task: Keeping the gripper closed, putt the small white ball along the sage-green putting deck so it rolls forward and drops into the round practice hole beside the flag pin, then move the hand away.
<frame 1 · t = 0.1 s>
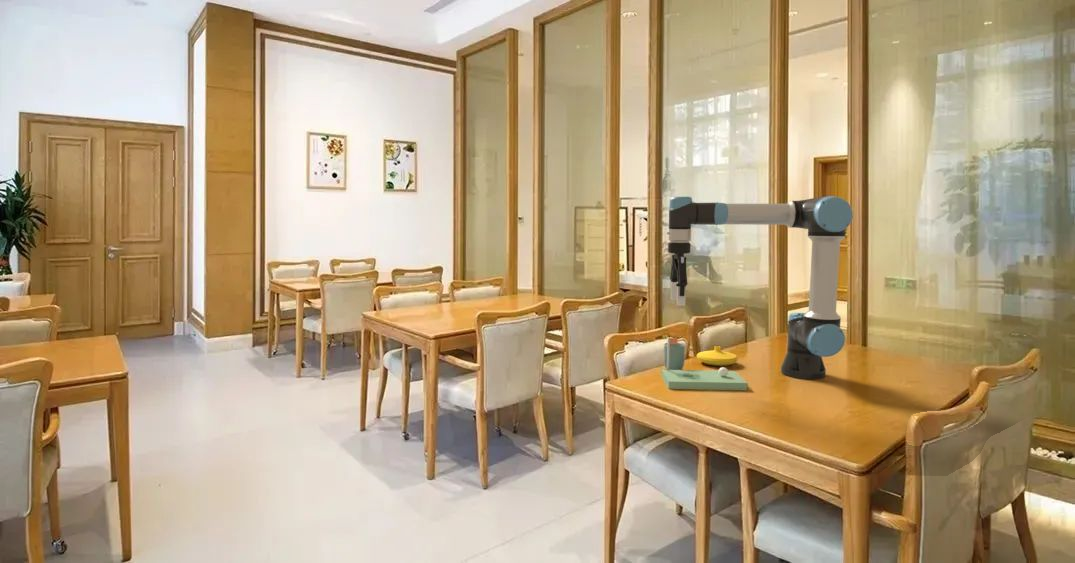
hand: (677, 302, 209), 28 cm above the table, fingers open, 13 cm apart
deck: (702, 383, 210), on the table
cup: (673, 371, 227), on the table
ball: (723, 371, 209), point 4 cm above the table, touching deck
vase: (716, 364, 238), on the table
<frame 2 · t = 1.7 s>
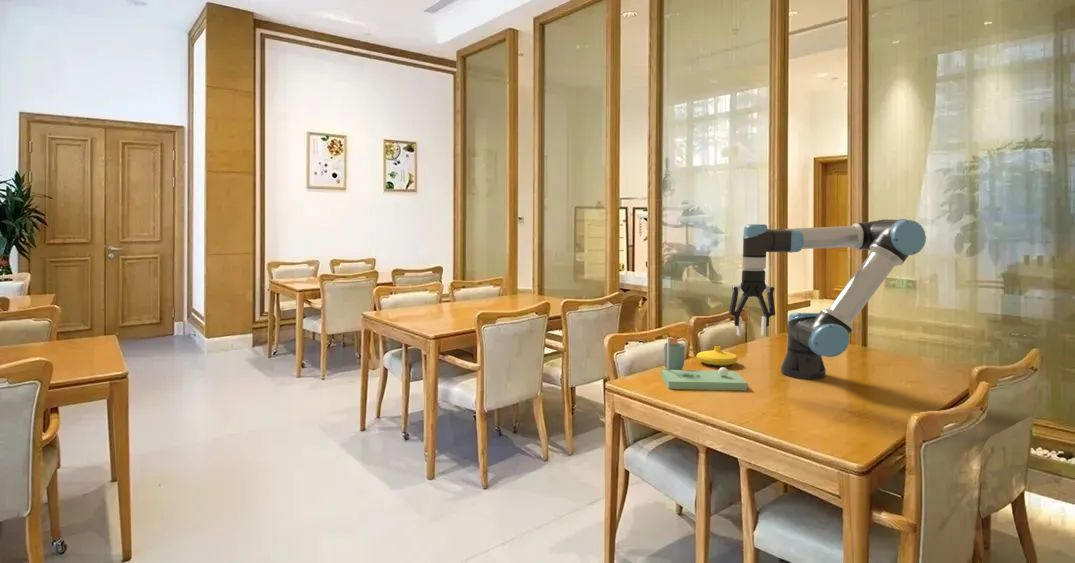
hand: (751, 335, 207), 17 cm above the table, fingers open, 8 cm apart
nothing on the table moved.
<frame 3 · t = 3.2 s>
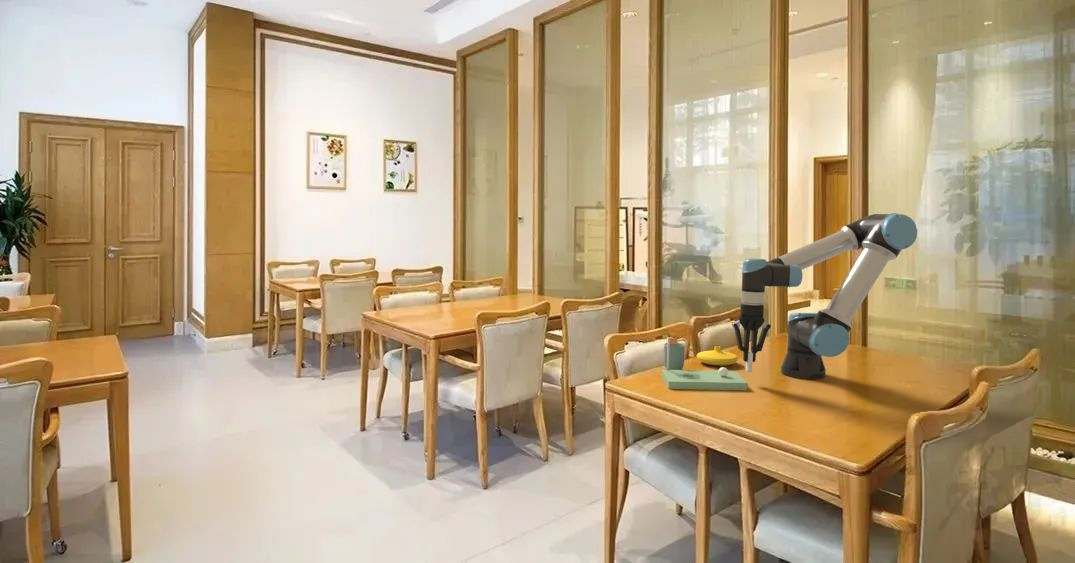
hand: (748, 370, 208), 5 cm above the table, fingers closed
nothing on the table moved.
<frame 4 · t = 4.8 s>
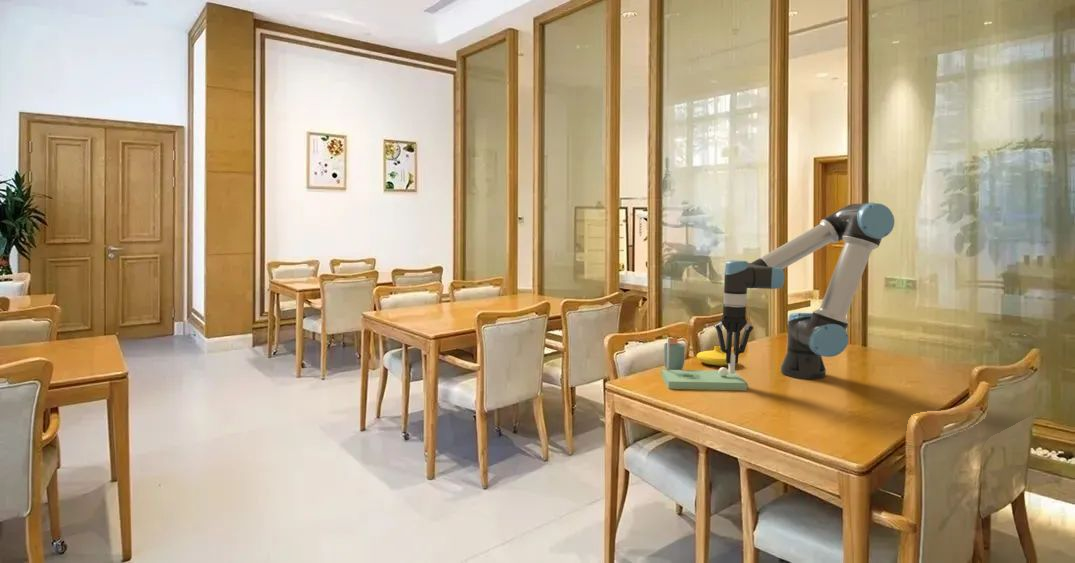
hand: (731, 372, 209), 4 cm above the table, fingers closed
nothing on the table moved.
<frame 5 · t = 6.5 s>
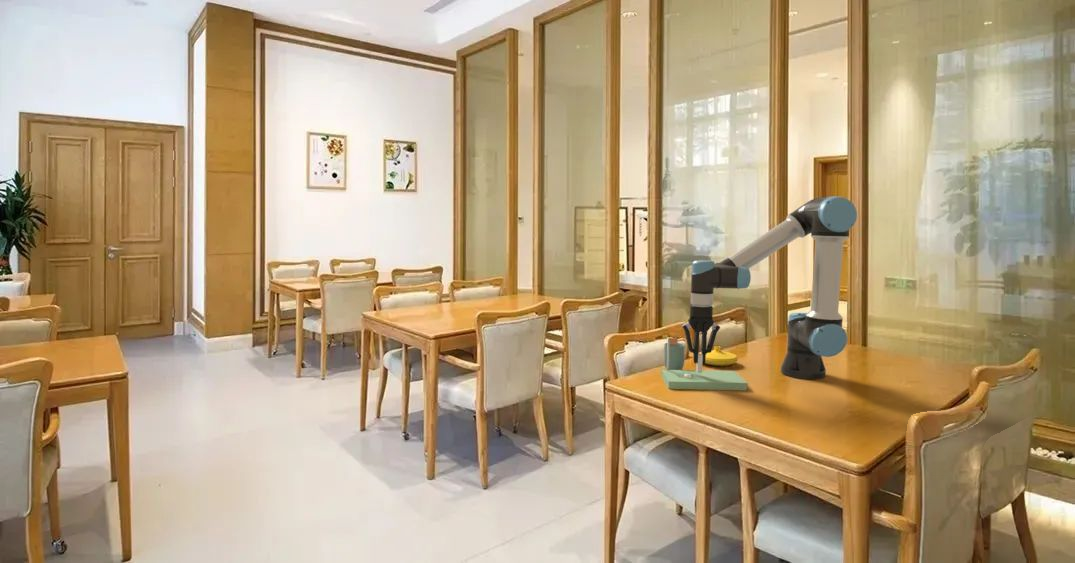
hand: (699, 372, 209), 4 cm above the table, fingers closed
ball: (687, 378, 210), point 2 cm above the table, tilted 154°
everything else where it was.
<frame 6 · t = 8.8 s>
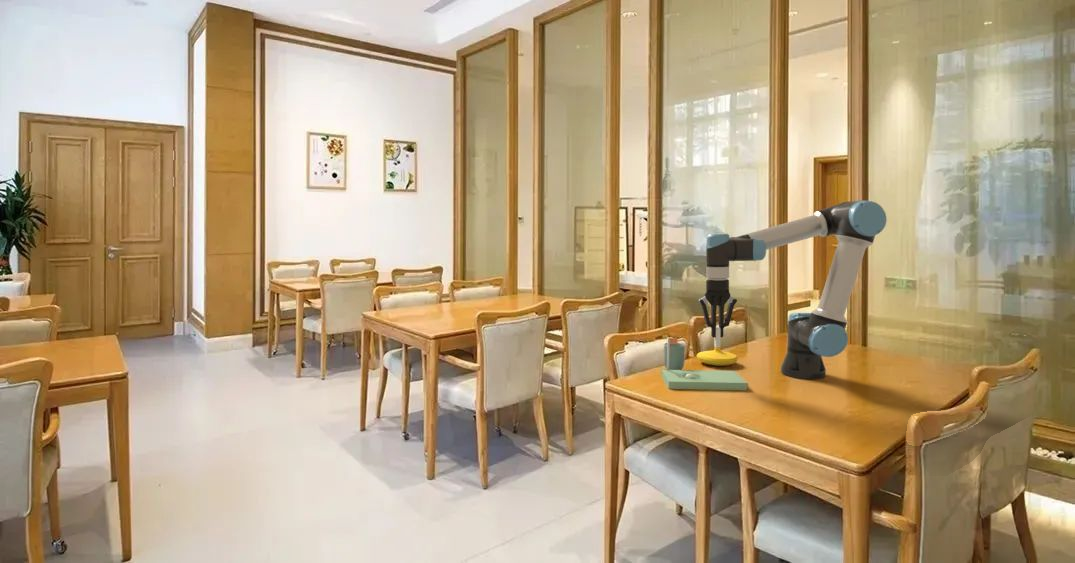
hand: (717, 346, 208), 13 cm above the table, fingers closed
ball: (689, 378, 210), point 2 cm above the table, tilted 128°
everything else where it was.
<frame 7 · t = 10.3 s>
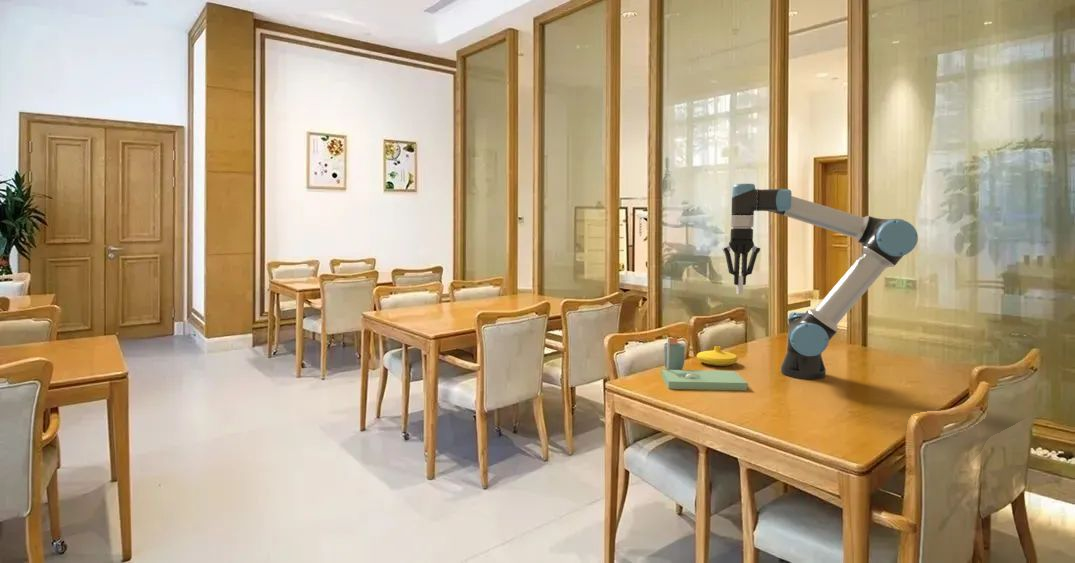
hand: (739, 294, 215), 30 cm above the table, fingers closed
nothing on the table moved.
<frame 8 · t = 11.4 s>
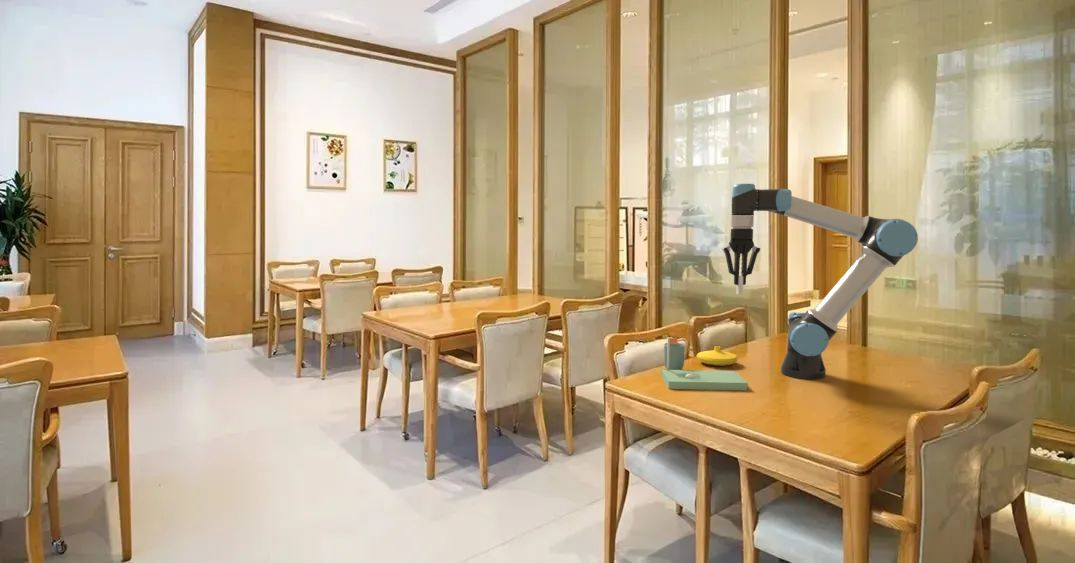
hand: (739, 294, 215), 30 cm above the table, fingers closed
nothing on the table moved.
at the end: ball 0.5 cm from the target spot in the deck, point 1.6 cm above the deck's base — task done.
